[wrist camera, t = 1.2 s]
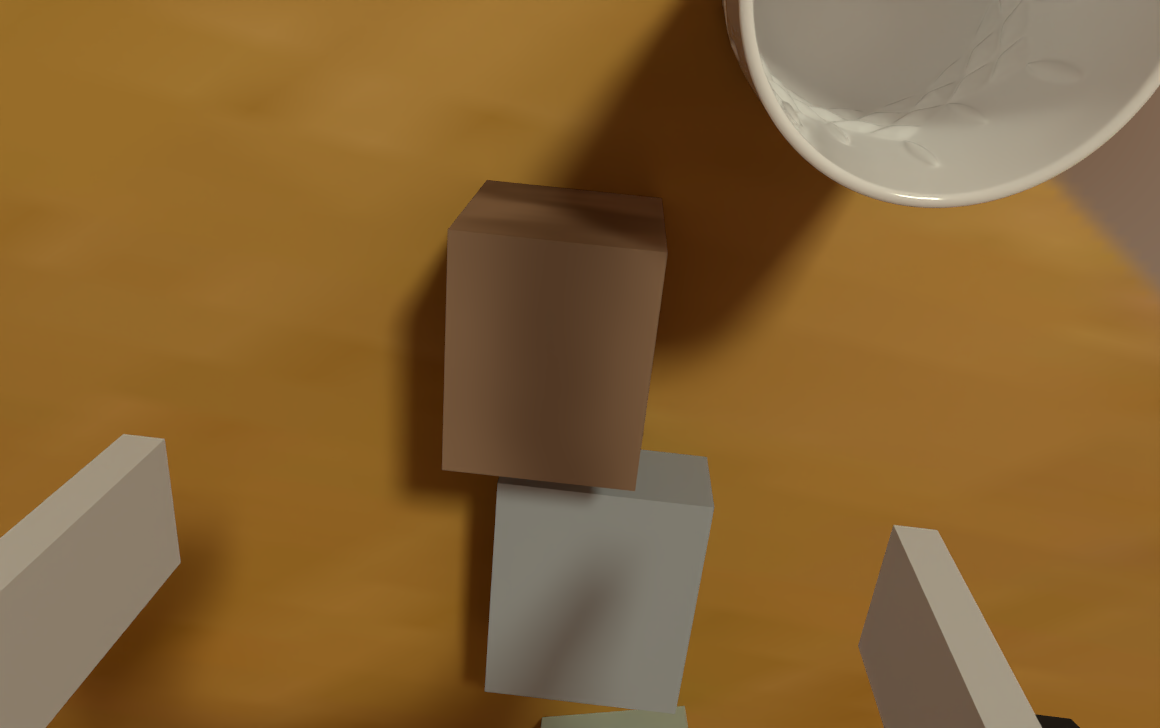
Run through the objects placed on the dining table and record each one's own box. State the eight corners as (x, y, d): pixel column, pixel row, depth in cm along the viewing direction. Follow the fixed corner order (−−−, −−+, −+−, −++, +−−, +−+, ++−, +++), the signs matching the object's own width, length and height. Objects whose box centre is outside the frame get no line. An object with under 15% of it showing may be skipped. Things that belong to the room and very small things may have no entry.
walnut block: (478, 380, 29) (442, 469, 24) (487, 179, 26) (447, 229, 21) (635, 396, 29) (634, 491, 24) (661, 197, 26) (667, 252, 21)
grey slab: (499, 625, 34) (484, 691, 31) (512, 430, 30) (497, 483, 27) (671, 645, 34) (675, 713, 31) (706, 452, 30) (714, 507, 27)
